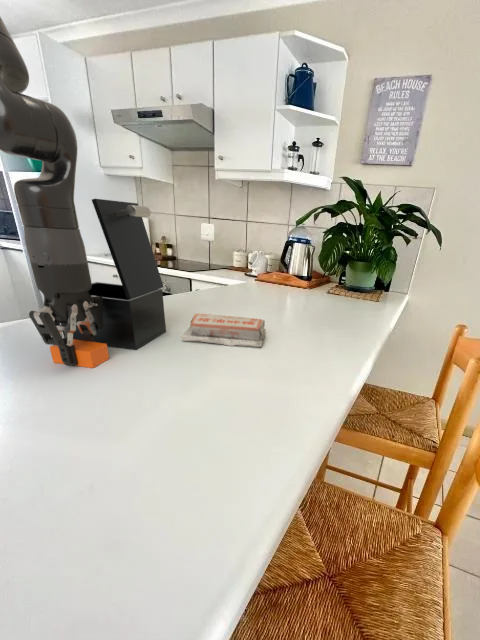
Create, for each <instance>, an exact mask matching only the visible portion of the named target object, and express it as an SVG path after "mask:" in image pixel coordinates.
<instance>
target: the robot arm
mask: <svg viewBox="0 0 480 640" xmlns="http://www.w3.org/2000/svg"><path fill="white" fill-rule="evenodd" d="M29 84H30V74H29V70H28V67H27V64H26V62H25V60H24V58H23V56H22V54H21V53H20V50H19V49H18V47H17V45H16V43H15V41H14V39H13V37H12V36H11V33H10V32H9V30H8V28H7V26H6V24H5V23H4V21H3V19H2V17H1V16H0V151H1V152H3V153H4V154H7V155H10V156H13V157H18V158H23V159H30V160H35V161H41V162H42V165H41V171H40V174H39V176H38V177H33V178H21V179H19V180H16V181H15V182H14V184H13V191H14V197H15V200H16V204H17V209H18V212H19V217H20V220H21V224H22V227H23V234H24V241H25V248H26V250H27V255H28V258H29V262H30V266H31V269H32V274H33V278H34V281H35V285H36V289H38V291H40V292H41V293H42V294H43V297H44V298H43V307H41V308H40V309H38V310H30V311H29V313H28V316H29V318H30V320H31V322H32V324H33V325H34V327H35V328H36V330H37V332H38V333H39V336H40V337H41V339H42V341H43V343H44V344H45V345H50V346H52V345H57V346H58V347H59V351H60V355H61V359H62V361H63V363H64V364H63V365H65V366H70V367H75V366H76V365H77V364H78V360H77V355H76V351H75V345H73V333H74V332H75V331H76V325H77V326H78V328H79V330H80V332H81V333H82V334H83V335H81V338H82V341H90V342H97V341H96V336H95V335H96V334H97V330H98V329H102V327H103V298H102V297H101V296H92V295H90V294H89V292H88V291H89V290H90V289H91V288H92V283H93V282H92V278H91V273H90V272H91V271H90V268H89V261H88V256H87V251H86V246H85V243H84V239H83V237H82V233H81V229H80V224H79V220H78V219H79V218H78V215H77V209H76V204H75V188H76V187H75V186H76V171H77V162H78V139H77V135H76V131H75V129H74V126H73V125H72V122H71V120H70V119H69V117H68V116H67V115H66V113H65V112H64V111H63V110H62V109H61V108H60V107H58V106H57V105H56V104H53V103H52V102H48V101H45V100H43V99H39V98H35V97H32V96H30V95H27V94H24V92H25V91H26V90H27V89H28V87H29ZM93 315H96V322H95V320H94V318H93ZM61 324H68V325H67V326H61ZM85 325H86V326H85ZM63 331H64V332H65V338H64V337H63ZM76 367H77V366H76Z"/></svg>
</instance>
